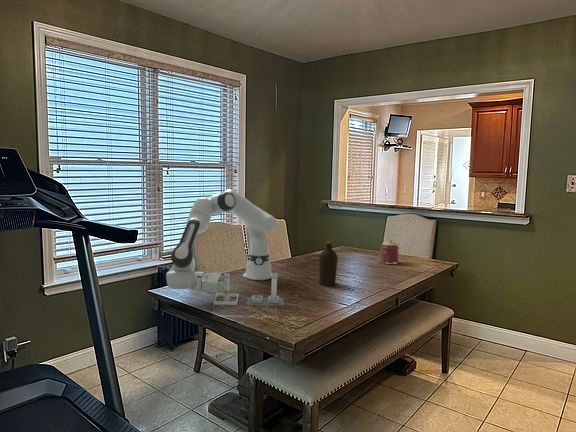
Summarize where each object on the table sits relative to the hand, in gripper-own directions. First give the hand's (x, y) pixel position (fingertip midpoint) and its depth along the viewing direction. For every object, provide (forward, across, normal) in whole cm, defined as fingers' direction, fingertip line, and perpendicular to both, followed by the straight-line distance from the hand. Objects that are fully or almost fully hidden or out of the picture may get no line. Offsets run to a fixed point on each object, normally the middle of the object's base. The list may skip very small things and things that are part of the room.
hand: (228, 281), depth 214 cm
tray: (-1, 0, -10) cm, 11 cm away
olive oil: (+54, -38, -11) cm, 67 cm away
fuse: (+22, 0, -10) cm, 24 cm away
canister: (+108, -100, -11) cm, 148 cm away
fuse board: (+18, 0, -10) cm, 21 cm away
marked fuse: (-1, 0, -10) cm, 10 cm away
